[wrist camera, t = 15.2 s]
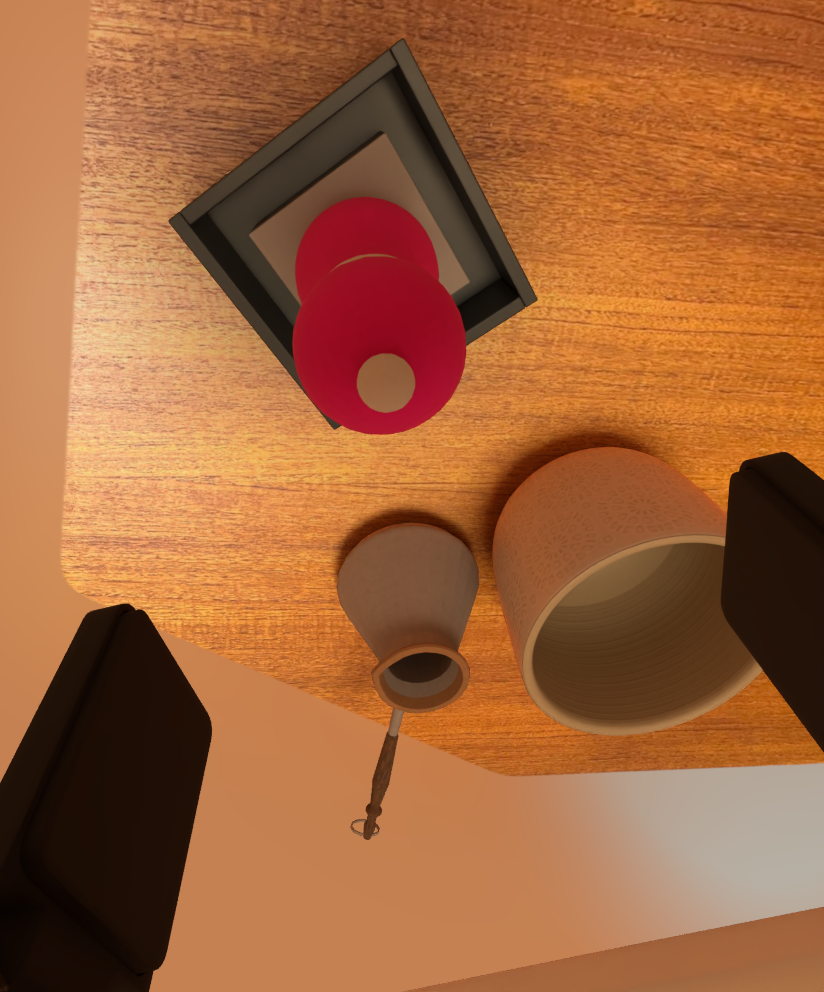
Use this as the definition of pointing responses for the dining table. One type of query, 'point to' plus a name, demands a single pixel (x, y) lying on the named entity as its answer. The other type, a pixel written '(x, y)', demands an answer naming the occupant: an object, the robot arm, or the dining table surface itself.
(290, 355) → the dark square tray
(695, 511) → the planter
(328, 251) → the pepper mill
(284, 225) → the brown square block
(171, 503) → the dining table surface
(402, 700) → the coffee pot
